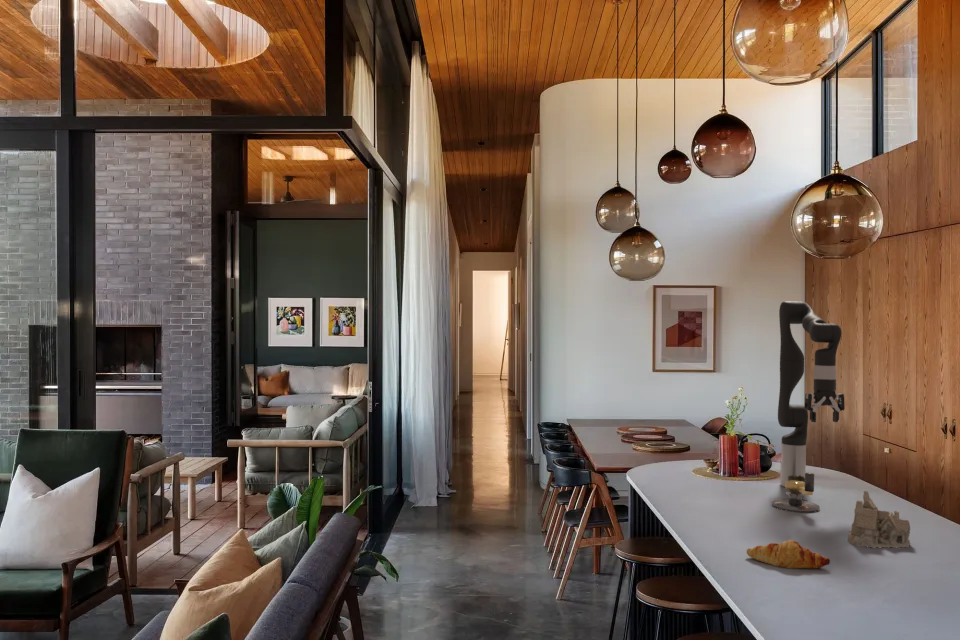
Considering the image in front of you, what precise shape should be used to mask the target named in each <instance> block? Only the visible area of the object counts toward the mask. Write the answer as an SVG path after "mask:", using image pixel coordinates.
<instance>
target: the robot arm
mask: <svg viewBox="0 0 960 640" xmlns="http://www.w3.org/2000/svg"><path fill="white" fill-rule="evenodd" d="M778 312H779V316H778V318H779V320H778V321H779V333H780V346H779V347H780V350H779V393H778V395H779V397H778V406H777V421H778V425H779V426H780V427H782V428H794V430H793V431H792V432H790V433H788V434H783V436H782V437H781V456H780V457H781V461H780V478H779V479H780V482H779V483H780V486H782V487H785V481H788V478H789V477H790V475H791V476H792V475H793V476H794V477H795V476H796V475H797V477H798V476H799V475H801V476H802V477H803V476H804V479H805V473H807V472H806V471H807V470H806V467H807V466H806V465H807V461H806V460H807V459H806V458H807V438H808V425H809V420H810V422H811V423H816V422H817V412H816V411H817V409H818V408H820V407H821V406H827V407H830V408H831V409H832V422H833V423H838V422H839V420H840V412H841V411H844V410H845V395H844V394H843V393H836V391H837V368H836V367H837V366H836V365H837V364H836V362H837V361H836V360H837V359H836V358H837V357H836V356H837V351H838V347H839V345H840V342H841V340H842V339H841V338H842V329H841V326H840V325H839V324H836V323H827V322H826V321H825V320H824V319H823V318H821V317H819V316H818V315H817V314H816V313H815V311H814V310H813V309H812V307H811V305H809V304H808V303H807V302H806V301H805V302H804V301H799V300H798V301H796V300H794V301H792V300H791V301H790V300H788V301H787V300H786V301H782V302H781V303H780V306H779V310H778ZM791 325H801V326H802V328H803V330H804V331H806V332H807V333H808V334H809V337H810V340H811V341H812V342H815V343H827V345H826V347H824V348H820V349H816V350H815V352H814V366H813V367H814V368H813V393H808V392H807V393H805V394H804V395H805V396H804V404H790V401H791V396H792V393H793V391H794V390H795V388H796V386H797V385H798V384H799V382H800V381H801V379H802V377H803V376H804V373H805V356H804V355H805V354H804V353H803V351H802V349H801V348H800V346H799V345H798V343H797V341H796V340H795V338H794V337H793V334H792V328H791ZM813 399H814V400H813ZM812 400H813V402H812ZM835 400H837V402H836V401H835ZM808 411H809V412H808ZM788 476H789V477H788Z"/></svg>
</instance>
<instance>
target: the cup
mask: <svg viewBox="0 0 960 640" xmlns="http://www.w3.org/2000/svg"><path fill="white" fill-rule="evenodd" d="M788 477H789V476H788ZM788 481H801V482H805V479H804V476H803V477H802V476H801V475H799V476H798V477H797V475H796V476H795V477H794V476H793V475H792V476H791V475H790V477H789V478H788ZM804 496H805V495H802V499H804Z"/></svg>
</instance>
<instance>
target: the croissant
mask: <svg viewBox="0 0 960 640" xmlns="http://www.w3.org/2000/svg"><path fill="white" fill-rule="evenodd" d="M746 555H747V556H748V557H750V558H752V559H754V560H756V561H758V562H762V563H765V564H766V565H767V564H769V565H772V566H774V567H778V568H780V567H781V568H786V569H810V570H811V569H820V568H823V567H826V566H828V565H829V564H830V563H831V560H830V557H827V556H823V555H822V554H820V553H819V552H818V553H817V552H815V551H814V552H813V551H812V550H810V549H809V547H804V546H802V545H801V544H800V543H799V542H798V541H796V540H793V539H789V540H785V541H783V542H782V543H780V542H770V543H768V544H764V545H756V546H754V547H752V548H747V549H746Z"/></svg>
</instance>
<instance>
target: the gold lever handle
mask: <svg viewBox="0 0 960 640" xmlns="http://www.w3.org/2000/svg"><path fill="white" fill-rule="evenodd" d="M784 489H785V490H788V491H789V490H791V491H799V492H801V493H803V494H805V496H813V495H814V494H813V493H814V492H815V473H814V472H806V473H805V482H801V481H785V488H784Z"/></svg>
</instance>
